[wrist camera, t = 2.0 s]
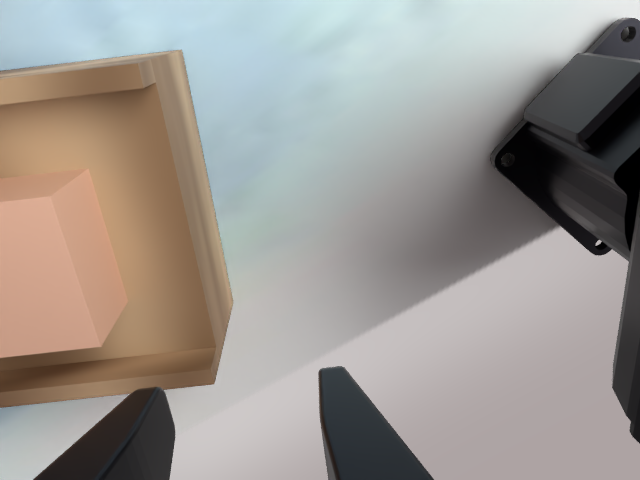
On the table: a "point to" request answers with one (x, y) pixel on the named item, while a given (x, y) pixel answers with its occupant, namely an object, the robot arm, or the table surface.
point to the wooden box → (125, 220)
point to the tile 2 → (55, 265)
